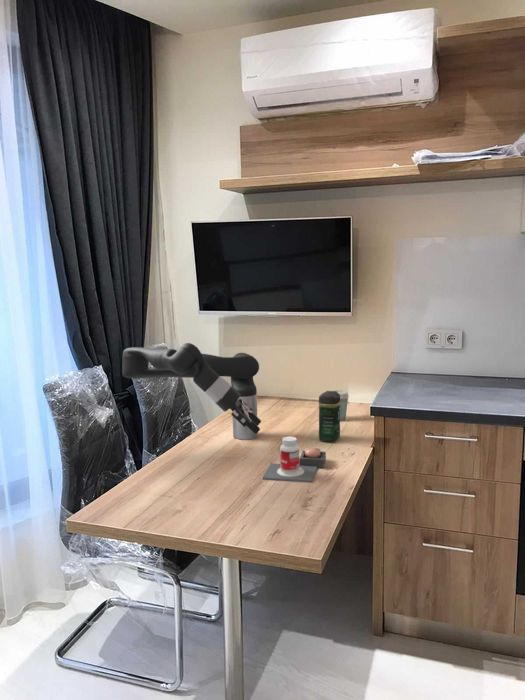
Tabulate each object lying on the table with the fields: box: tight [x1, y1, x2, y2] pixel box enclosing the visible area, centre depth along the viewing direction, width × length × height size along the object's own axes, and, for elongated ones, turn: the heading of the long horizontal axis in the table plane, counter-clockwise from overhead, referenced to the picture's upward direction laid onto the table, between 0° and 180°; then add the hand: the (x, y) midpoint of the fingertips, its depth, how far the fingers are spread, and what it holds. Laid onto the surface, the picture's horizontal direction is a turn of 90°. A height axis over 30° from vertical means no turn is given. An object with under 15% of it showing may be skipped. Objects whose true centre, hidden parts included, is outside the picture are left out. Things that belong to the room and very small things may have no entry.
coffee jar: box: [318, 390, 341, 443], centre depth 225 cm, size 10×8×19 cm
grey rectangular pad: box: [262, 462, 318, 483], centre depth 192 cm, size 16×13×1 cm
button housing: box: [299, 450, 327, 469], centre depth 200 cm, size 8×8×3 cm
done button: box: [304, 446, 321, 458], centre depth 200 cm, size 5×5×2 cm
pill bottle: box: [279, 436, 300, 474], centre depth 191 cm, size 6×6×11 cm
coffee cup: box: [334, 389, 349, 422], centre depth 251 cm, size 8×9×12 cm
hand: (258, 427), depth 190 cm, fingers open, 8 cm apart
